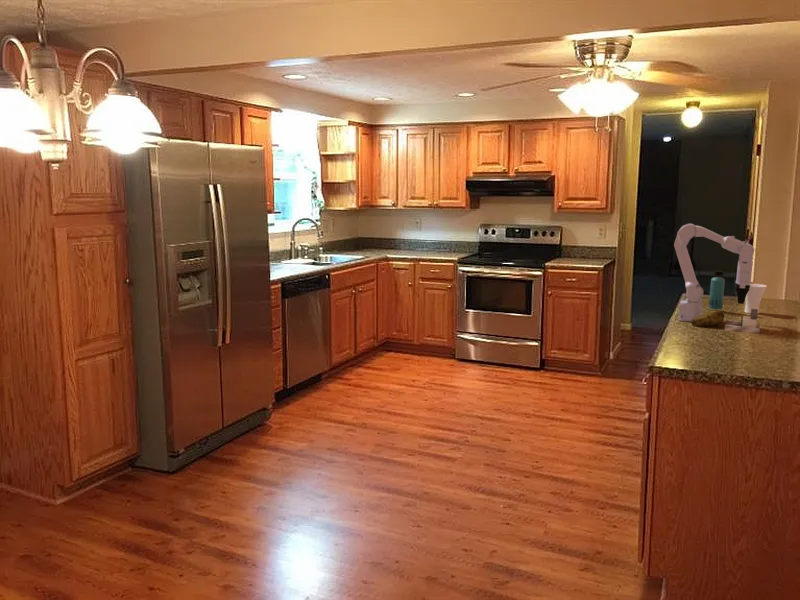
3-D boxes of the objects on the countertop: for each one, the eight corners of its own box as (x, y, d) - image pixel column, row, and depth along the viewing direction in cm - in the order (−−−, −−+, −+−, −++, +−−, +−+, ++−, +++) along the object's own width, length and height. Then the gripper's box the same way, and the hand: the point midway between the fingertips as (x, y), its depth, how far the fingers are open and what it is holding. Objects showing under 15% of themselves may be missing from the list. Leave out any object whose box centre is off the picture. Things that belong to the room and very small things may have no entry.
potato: (690, 324, 297) (692, 307, 296) (722, 327, 292) (724, 309, 291) (690, 328, 290) (692, 310, 288) (723, 331, 285) (725, 312, 283)
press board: (724, 332, 282) (724, 325, 281) (725, 326, 294) (726, 319, 293) (759, 336, 276) (759, 329, 275) (759, 329, 288) (759, 322, 287)
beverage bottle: (721, 310, 331) (725, 270, 327) (723, 312, 325) (727, 271, 321) (707, 309, 333) (710, 269, 330) (708, 311, 327) (712, 271, 323)
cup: (763, 315, 319) (766, 287, 317) (738, 313, 324) (741, 285, 322) (764, 311, 328) (767, 284, 325) (740, 309, 333) (743, 282, 331)
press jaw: (740, 330, 281) (742, 310, 280) (740, 326, 289) (742, 306, 287) (755, 331, 278) (757, 311, 277) (755, 327, 286) (757, 307, 285)
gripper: (754, 274, 284) (751, 305, 287) (755, 270, 297) (751, 300, 299) (735, 273, 288) (732, 304, 290) (737, 269, 300) (734, 299, 303)
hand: (741, 302), depth 295 cm, fingers open, 7 cm apart
